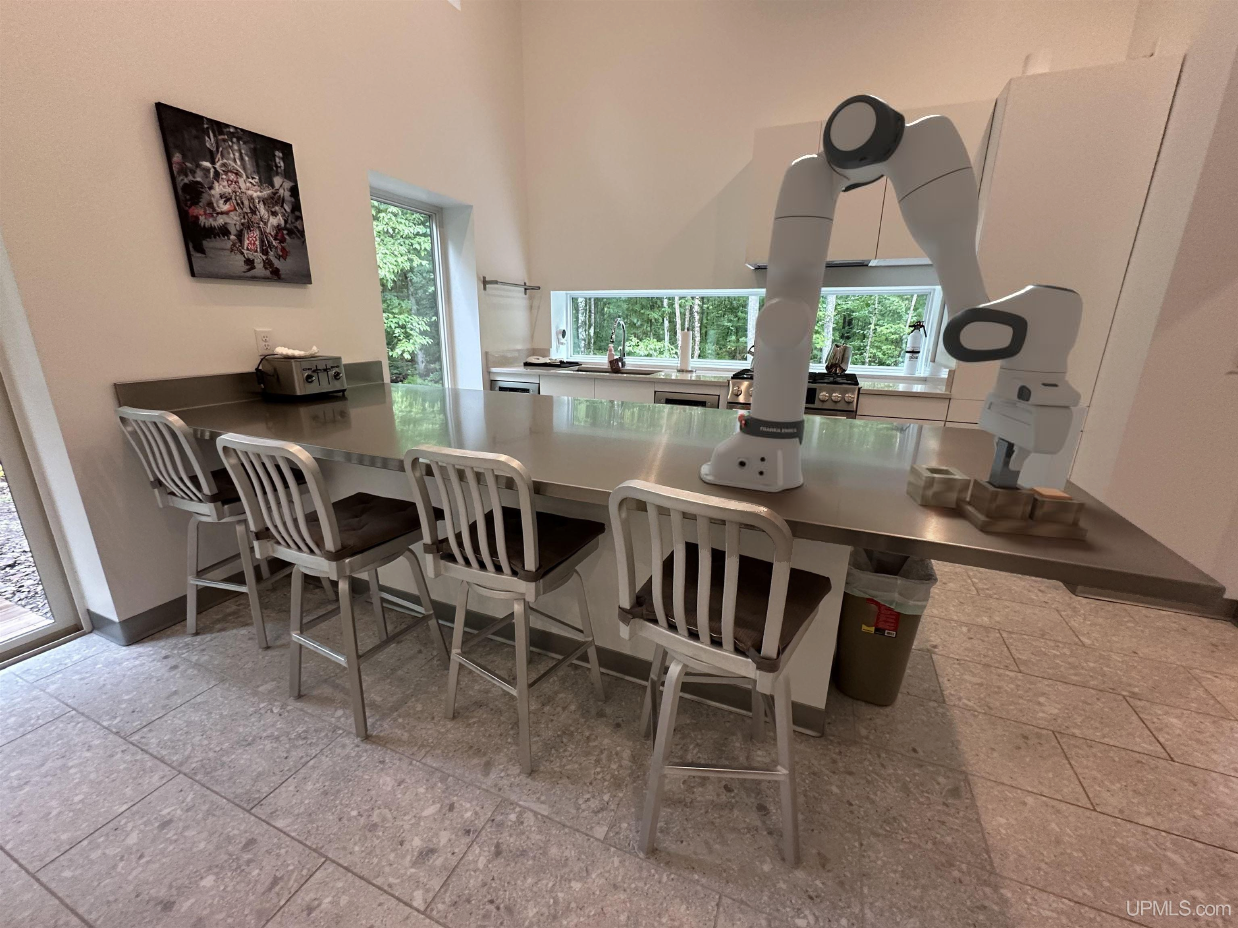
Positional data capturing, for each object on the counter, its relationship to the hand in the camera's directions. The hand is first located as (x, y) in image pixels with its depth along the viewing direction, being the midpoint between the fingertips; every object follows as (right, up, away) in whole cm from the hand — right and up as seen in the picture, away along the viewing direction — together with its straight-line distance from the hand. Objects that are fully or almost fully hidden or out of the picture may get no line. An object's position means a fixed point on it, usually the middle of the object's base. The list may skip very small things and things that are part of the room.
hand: (1006, 465), depth 88 cm
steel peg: (0, -7, +2) cm, 8 cm away
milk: (+21, -6, +19) cm, 30 cm away
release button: (+7, -8, +1) cm, 11 cm away
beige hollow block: (-4, -7, +14) cm, 16 cm away
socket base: (+3, -11, +2) cm, 11 cm away
